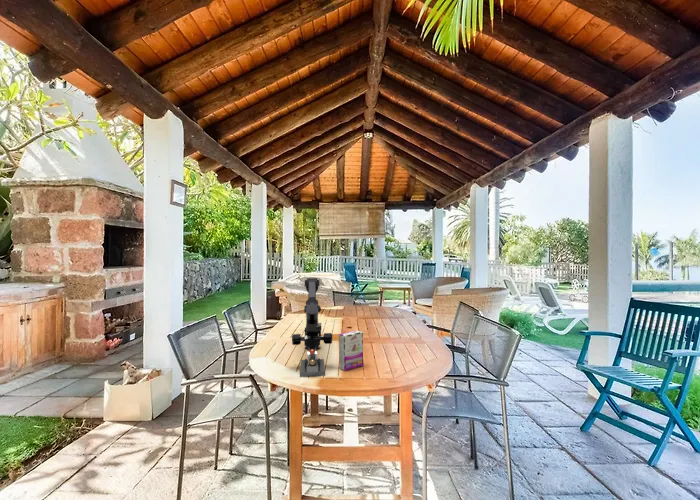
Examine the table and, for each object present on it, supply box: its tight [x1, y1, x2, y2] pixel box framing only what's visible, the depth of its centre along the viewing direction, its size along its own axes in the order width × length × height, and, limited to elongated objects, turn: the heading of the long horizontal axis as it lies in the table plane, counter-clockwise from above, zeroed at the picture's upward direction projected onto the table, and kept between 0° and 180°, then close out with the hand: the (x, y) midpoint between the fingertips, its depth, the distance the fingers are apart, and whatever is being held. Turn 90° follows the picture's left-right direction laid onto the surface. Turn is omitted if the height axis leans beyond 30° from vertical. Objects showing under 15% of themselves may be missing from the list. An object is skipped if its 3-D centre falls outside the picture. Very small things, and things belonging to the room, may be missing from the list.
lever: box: [307, 349, 318, 364], centre depth 155 cm, size 3×4×9 cm
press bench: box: [299, 357, 326, 378], centre depth 158 cm, size 16×11×7 cm, turn 6°
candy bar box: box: [338, 330, 364, 372], centre depth 161 cm, size 11×5×16 cm, turn 126°
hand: (312, 355), depth 155 cm, fingers closed
